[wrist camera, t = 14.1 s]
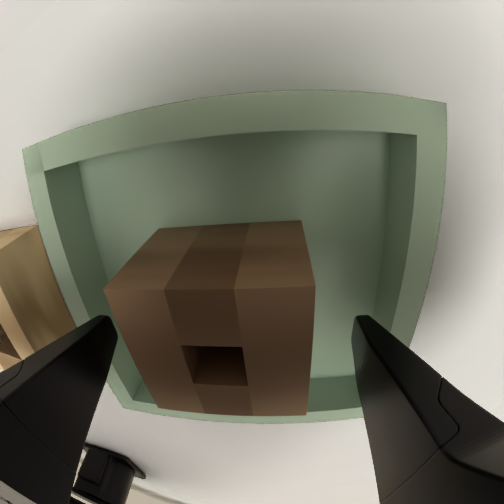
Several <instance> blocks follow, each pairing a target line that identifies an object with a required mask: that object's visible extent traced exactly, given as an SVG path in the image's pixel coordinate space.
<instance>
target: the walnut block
mask: <svg viewBox="0 0 504 504" xmlns="http://www.w3.org/2000/svg"><path fill="white" fill-rule="evenodd" d="M103 290H104V292H105V295H106V298H107V300H108V303H109V306H110V308H111V311H112V313H113V316H114V318H115V321H116V323H117V325H118V328H119V330H120V332H121V335H122V337H123V339H124V341H125V344H126V346H127V348H128V350H129V352H130V355H131V357H132V359H133V361H134V363H135V365H136V367H137V369H138V371H139V373H140V375H141V377H142V379H143V381H144V383H145V385H146V387H147V388H148V390H149V392H150V394H151V396H152V398H153V399H154V401H155V403H156V405H157V407H158V408H161V409H168V410H175V411H183V412H193V413H203V414H216V415H232V416H302V415H306V414H307V405H308V395H309V384H310V373H311V361H312V347H313V332H314V313H315V290H316V285H315V280H314V276H313V271H312V266H311V261H310V257H309V252H308V248H307V243H306V239H305V234H304V230H303V225H302V221H301V220H296V221H273V222H253V223H234V224H217V225H202V226H187V227H173V228H159V229H157V231H156V232H155V233H154V234H153V235H152V236H151V237H150V238H149V239H148V240H147V241H146V242H145V243H144V244H143V245H142V246H141V247H140V248H139V249H138V251H137V252H136V253H135V254H134V255H133V256H132V257H131V258H130V259H129V260H128V261H127V263H126V264H125V265H124V266H123V267H122V268H121V269H120V270H119V271H118V273H117V274H116V275H115V276H114V277H113V278H112V279H111V280H110V282H109V283H108V284H107V285H106V286H105V287H104V289H103Z"/></svg>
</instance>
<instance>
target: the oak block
mask: <svg viewBox="0 0 504 504" xmlns="http://www.w3.org/2000/svg"><path fill="white" fill-rule="evenodd" d="M0 323H1V325H2V327H3V329H4V331H5V332H6V334H7V336H8V338H7V339H6V340H5V341H4V342H3V343H2V345H1V346H0V369H2V370H6V369H8V368H10V367H11V366H13V365H15V364H16V363H18V362H20V361H21V360H23V359H24V360H25V358H26V357H28V356H30V355H31V354H33V353H35V352H36V351H38V350H40V349H41V348H43V347H45V346H46V345H48V344H50V343H52V342H53V341H55V340H57V339H58V338H60V337H62V336H63V335H65V334H67V333H68V332H70V331H72V330H74V329H75V328H77V327H76V325H75V323H74V321H73V319H72V316H71V314H70V312H69V310H68V308H67V305H66V303H65V301H64V298H63V296H62V294H61V291H60V289H59V286H58V284H57V281H56V279H55V276H54V273H53V271H52V268H51V265H50V262H49V259H48V257H47V254H46V251H45V248H44V244H43V241H42V238H41V235H40V231H39V228H38V225H34V226H27V227H21V228H16V229H10V230H4V231H0Z"/></svg>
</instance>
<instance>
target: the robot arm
mask: <svg viewBox="0 0 504 504" xmlns="http://www.w3.org/2000/svg"><path fill="white" fill-rule="evenodd" d="M117 341H118V334H117V331H116V329H115V326H114V324H113V322H112V319H111V318H110V316H108V315H98V316H96V317H94V318H93V319H91V320H89V321H87V322H86V323H84V324H82V325H80V326H79V327H77V328H75V329H74V330H72V331H70V332H68V333H67V334H65V335H63V336H62V337H60V338H58V339H57V340H55V341H53V342H52V343H50V344H48V345H46V346H45V347H43V348H41V349H40V350H38V351H36V352H35V353H33V354H31V355H30V356H28V357H26V358H25V360H24V359H23V360H21V361H20V362H18V363H16V364H15V365H13V366H11V367H10V368H8V369H6V370H4V371H2V372H1V373H0V504H85V503H83V502H81V501H79V500H77V499H75V498H73V497H71V493H72V494H74V495H76V496H78V497H80V498H82V499H84V500H86V501H88V502H90V503H92V504H125V503H126V500H127V497H128V494H129V490H130V487H131V484H132V481H133V478H134V477H138V478H142V479H145V478H146V476H145V475H144V474H143V473H142V472H141V471H140V470H139V469H138V468H137V467H136V466H135V465H134V464H132V463H131V462H130V461H129V460H128V459H127V458H126V457H124V456H121V455H118V454H115V453H111V452H108V451H105V450H102V449H99V448H96V447H93V446H90V445H88V444H85V440H86V437H87V434H88V431H89V428H90V425H91V422H92V419H93V416H94V413H95V410H96V407H97V404H98V401H99V398H100V396H101V393H102V390H103V387H104V385H105V382H106V379H107V376H108V373H109V370H110V366H111V362H112V359H113V355H114V352H115V348H116V345H117ZM351 345H352V352H353V360H354V368H355V376H356V384H357V389H358V394H359V398H360V402H361V406H362V411H363V415H364V420H365V424H366V429H367V434H368V439H369V444H370V449H371V454H372V459H373V464H374V470H375V476H376V482H377V488H378V494H379V501H380V504H504V422H502V421H501V420H499V419H498V418H496V417H495V416H494V415H492V414H491V413H489V412H488V411H486V410H485V409H484V408H482V407H481V406H479V405H478V404H476V403H475V402H474V401H472V400H471V399H470V398H468V397H467V396H465V395H464V394H463V393H462V392H460V391H459V390H458V389H457V388H455V387H454V386H453V385H452V384H451V383H449V382H448V381H447V380H446V379H445V378H444V377H442V376H441V375H440V374H439V373H438V372H437V371H435V370H434V369H433V368H432V367H431V366H429V365H428V364H427V363H426V362H425V361H424V360H422V359H421V358H420V357H419V356H418V355H416V354H415V353H414V352H413V351H412V350H410V349H409V348H408V347H407V346H406V345H405V344H403V343H402V342H401V341H400V340H399V339H397V338H396V337H395V336H394V335H392V334H391V333H390V332H389V331H388V330H386V329H385V328H384V327H383V326H382V325H380V324H379V323H378V322H377V321H375V320H374V319H373V318H372V317H371V316H369V315H357V316H356V317H355V318H354V323H353V329H352V335H351ZM83 449H84V450H85V451H86V452H87V453H86V455H85V458H84V460H83V462H82V465H81V467H80V470H79V472H78V477H77V480H76V482H75V485H74V487H73V483H74V480H75V476H76V471H77V468H78V464H79V461H80V457H81V454H82V450H83Z"/></svg>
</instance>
